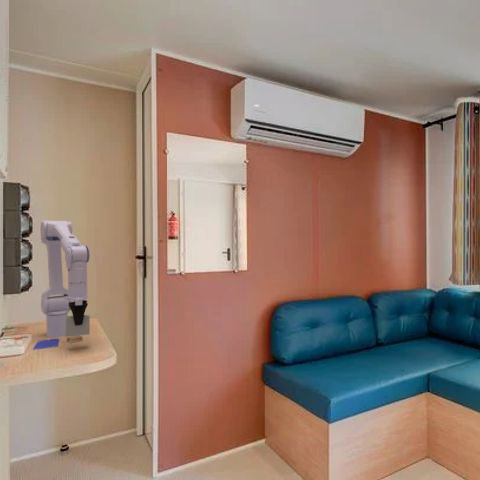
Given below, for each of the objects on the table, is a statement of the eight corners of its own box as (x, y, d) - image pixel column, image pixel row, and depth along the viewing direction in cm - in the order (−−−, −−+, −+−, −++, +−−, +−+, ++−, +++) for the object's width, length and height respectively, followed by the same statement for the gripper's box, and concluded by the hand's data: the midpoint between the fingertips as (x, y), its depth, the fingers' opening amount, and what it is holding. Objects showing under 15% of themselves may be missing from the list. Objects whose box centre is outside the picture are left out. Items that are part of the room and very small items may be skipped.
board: (65, 334, 118) (65, 316, 118) (89, 332, 121) (89, 314, 122) (65, 336, 116) (65, 317, 116) (89, 334, 119) (89, 316, 119)
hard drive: (59, 346, 121) (61, 337, 133) (31, 349, 118) (35, 340, 130) (59, 351, 121) (61, 342, 133) (31, 354, 118) (36, 345, 130)
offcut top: (66, 341, 128) (66, 336, 128) (78, 339, 131) (78, 334, 131) (70, 343, 126) (70, 339, 125) (82, 341, 128) (82, 336, 128)
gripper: (64, 281, 124) (64, 321, 124) (64, 285, 111) (64, 330, 111) (86, 279, 127) (87, 318, 127) (89, 284, 114) (89, 327, 114)
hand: (78, 324), depth 119 cm, fingers closed on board, 2 cm apart
